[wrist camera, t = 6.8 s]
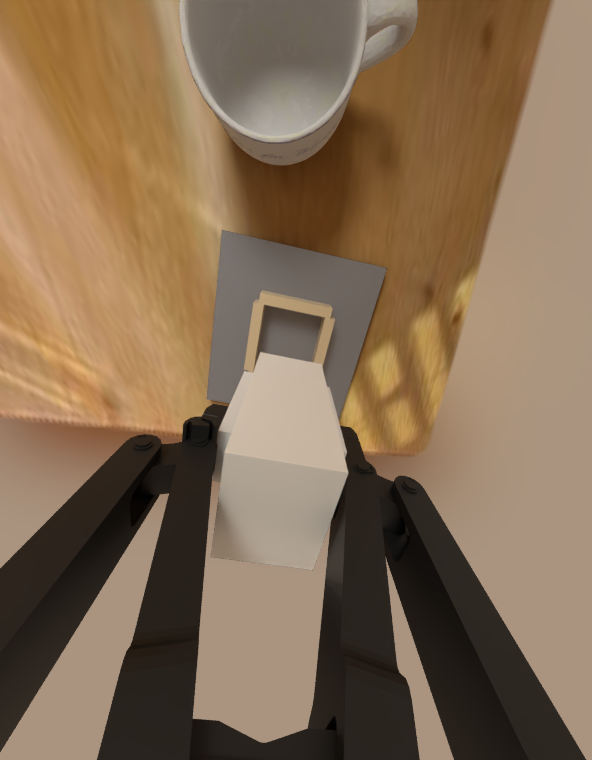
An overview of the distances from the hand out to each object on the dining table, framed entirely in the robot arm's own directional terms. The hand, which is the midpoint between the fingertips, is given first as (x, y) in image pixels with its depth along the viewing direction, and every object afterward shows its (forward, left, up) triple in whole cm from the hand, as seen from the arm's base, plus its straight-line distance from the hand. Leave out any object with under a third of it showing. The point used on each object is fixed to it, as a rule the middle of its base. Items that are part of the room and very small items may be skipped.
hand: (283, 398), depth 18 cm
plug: (0, 0, -1) cm, 1 cm away
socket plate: (0, 0, -14) cm, 14 cm away
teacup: (-20, -3, -15) cm, 25 cm away
